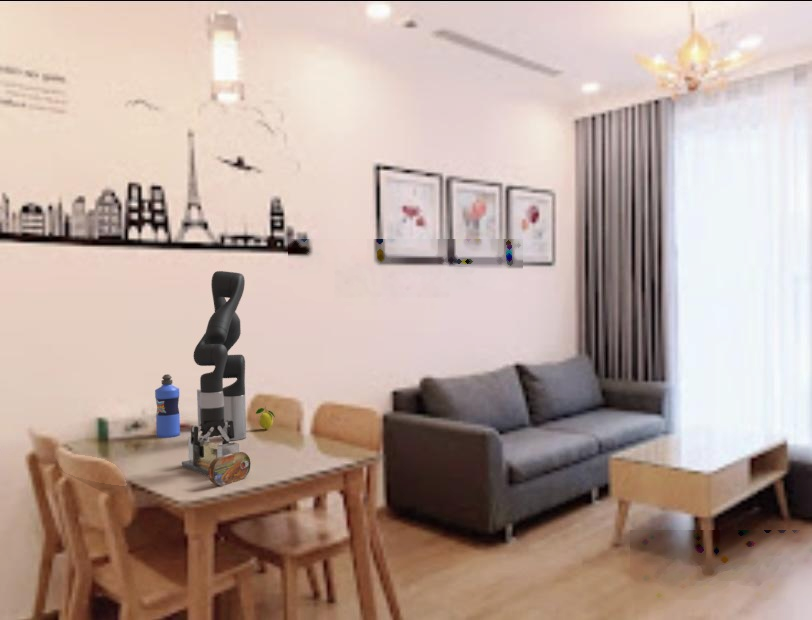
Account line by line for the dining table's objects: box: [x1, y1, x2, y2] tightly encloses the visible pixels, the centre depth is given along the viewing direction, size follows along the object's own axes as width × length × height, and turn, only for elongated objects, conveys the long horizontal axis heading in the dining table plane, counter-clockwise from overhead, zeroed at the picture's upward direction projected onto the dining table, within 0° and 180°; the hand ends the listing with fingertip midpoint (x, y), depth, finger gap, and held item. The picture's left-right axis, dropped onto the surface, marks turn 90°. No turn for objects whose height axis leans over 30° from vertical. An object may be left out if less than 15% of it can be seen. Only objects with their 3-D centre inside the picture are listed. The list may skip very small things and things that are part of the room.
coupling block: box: [199, 441, 219, 466], centre depth 218 cm, size 12×4×6 cm, turn 45°
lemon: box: [254, 407, 276, 431], centre depth 282 cm, size 7×6×10 cm
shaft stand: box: [181, 434, 240, 476], centre depth 218 cm, size 25×10×10 cm, turn 45°
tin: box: [208, 451, 251, 487], centre depth 203 cm, size 15×3×8 cm, turn 148°
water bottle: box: [154, 374, 181, 439], centre depth 273 cm, size 9×9×25 cm
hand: (213, 454), depth 218 cm, fingers open, 8 cm apart
